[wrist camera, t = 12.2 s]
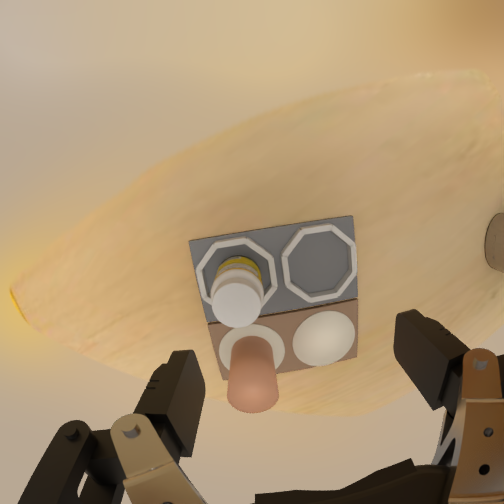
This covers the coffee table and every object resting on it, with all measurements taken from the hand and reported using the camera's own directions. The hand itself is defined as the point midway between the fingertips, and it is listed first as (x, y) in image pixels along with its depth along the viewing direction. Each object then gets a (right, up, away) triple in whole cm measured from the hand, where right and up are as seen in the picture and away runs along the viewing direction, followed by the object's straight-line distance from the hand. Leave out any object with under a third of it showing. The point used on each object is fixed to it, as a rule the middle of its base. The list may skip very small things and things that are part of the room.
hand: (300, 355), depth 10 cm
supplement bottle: (-3, +1, +20) cm, 20 cm away
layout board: (+2, -3, +21) cm, 22 cm away
